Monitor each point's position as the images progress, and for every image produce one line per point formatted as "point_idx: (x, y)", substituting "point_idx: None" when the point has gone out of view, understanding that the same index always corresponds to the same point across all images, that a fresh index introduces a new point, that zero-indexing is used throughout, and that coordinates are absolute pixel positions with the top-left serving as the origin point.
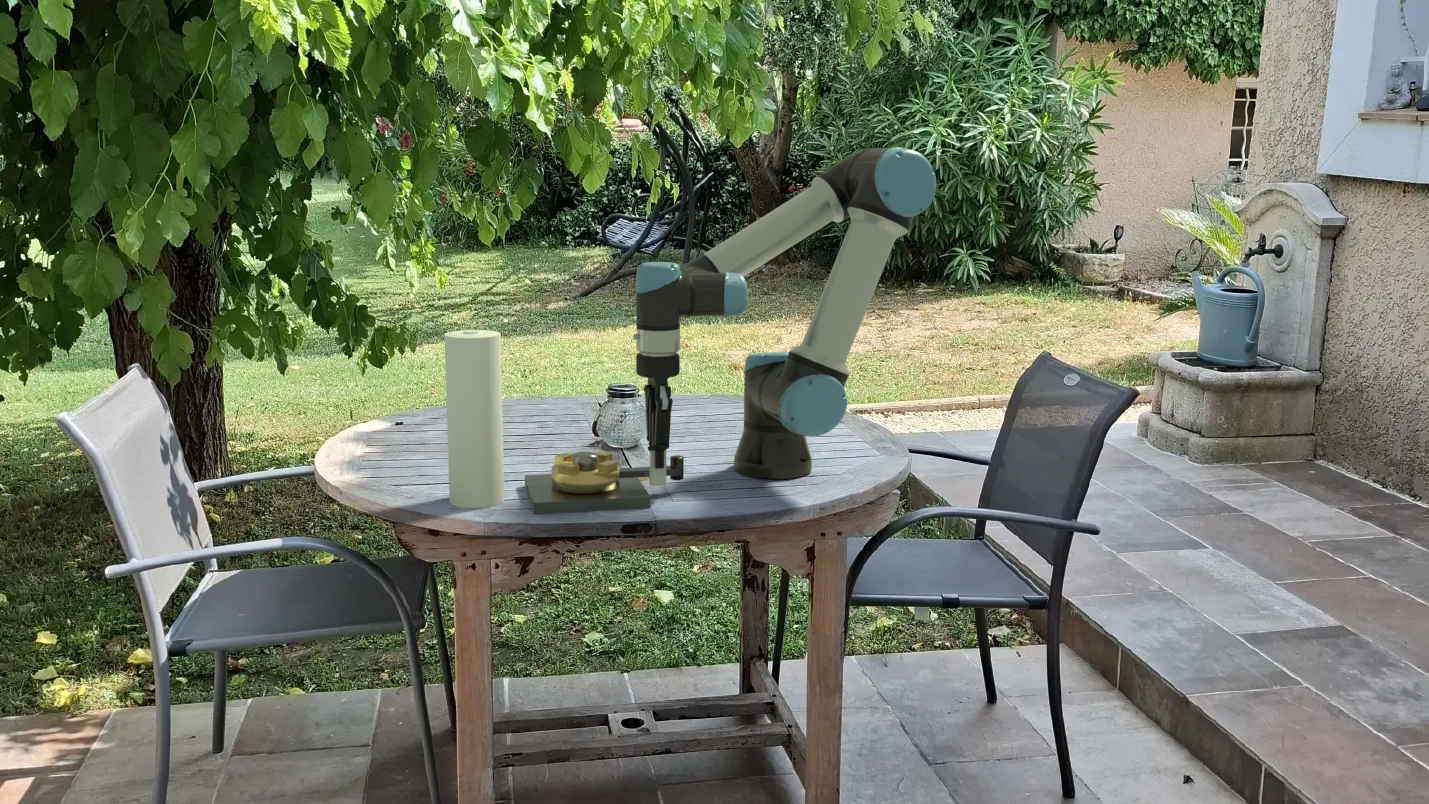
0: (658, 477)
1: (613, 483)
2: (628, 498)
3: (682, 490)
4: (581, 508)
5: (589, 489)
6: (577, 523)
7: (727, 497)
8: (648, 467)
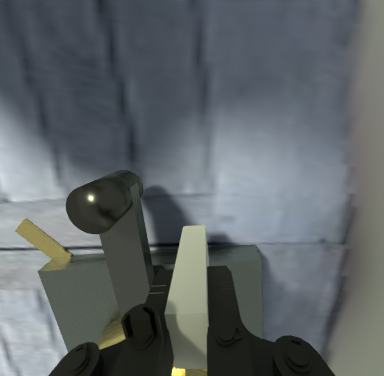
0: (207, 256)
1: None
2: (262, 299)
3: (124, 164)
4: None
5: None
6: (322, 358)
7: (190, 51)
8: (117, 274)
